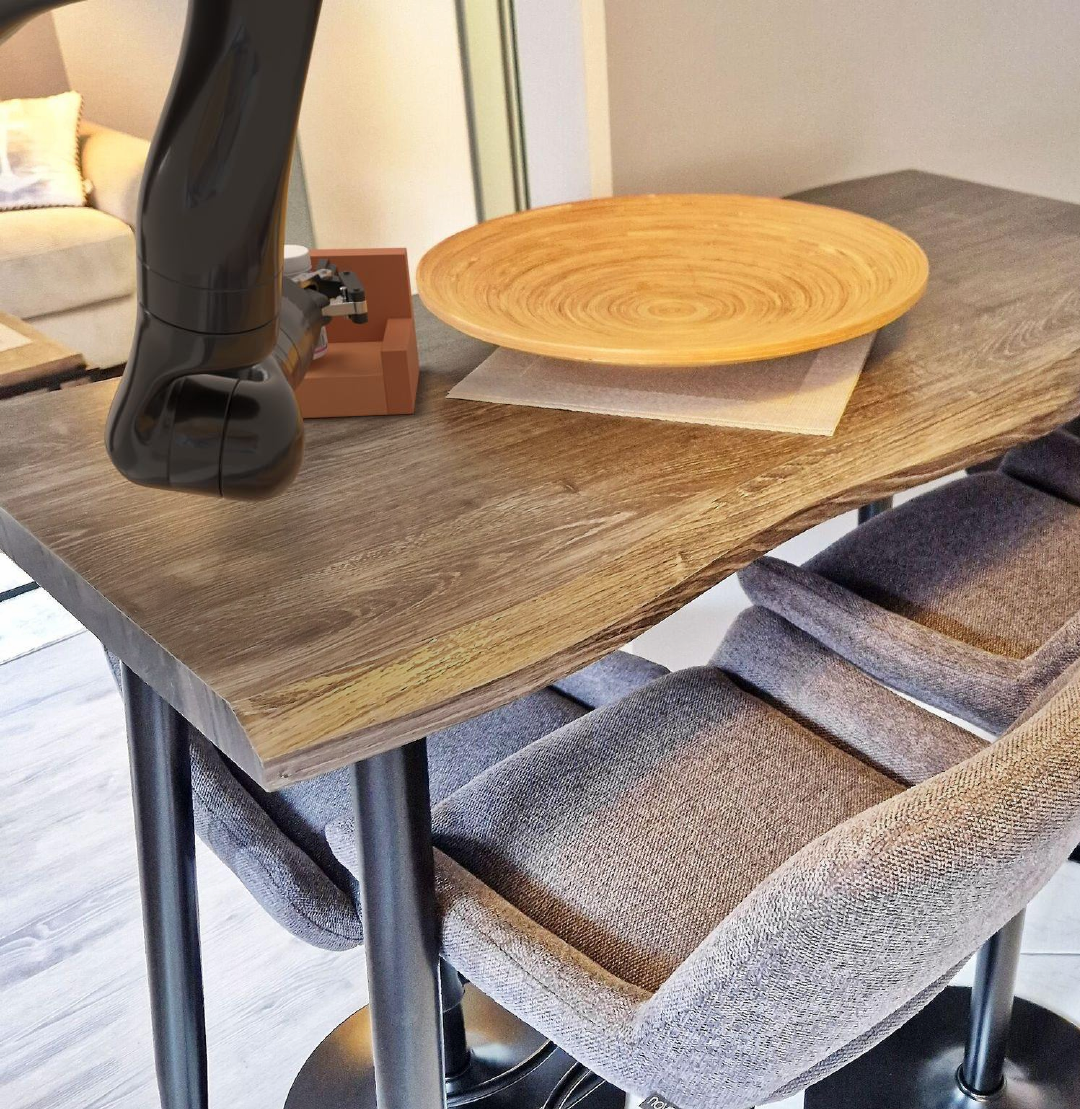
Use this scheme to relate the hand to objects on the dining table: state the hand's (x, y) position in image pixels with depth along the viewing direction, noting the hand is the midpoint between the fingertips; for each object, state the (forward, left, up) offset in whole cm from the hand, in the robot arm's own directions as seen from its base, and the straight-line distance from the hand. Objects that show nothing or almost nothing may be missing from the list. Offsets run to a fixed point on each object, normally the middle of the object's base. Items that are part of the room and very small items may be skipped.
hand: (291, 272), depth 99 cm
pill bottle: (0, -3, -6) cm, 7 cm away
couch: (0, -1, -10) cm, 10 cm away
